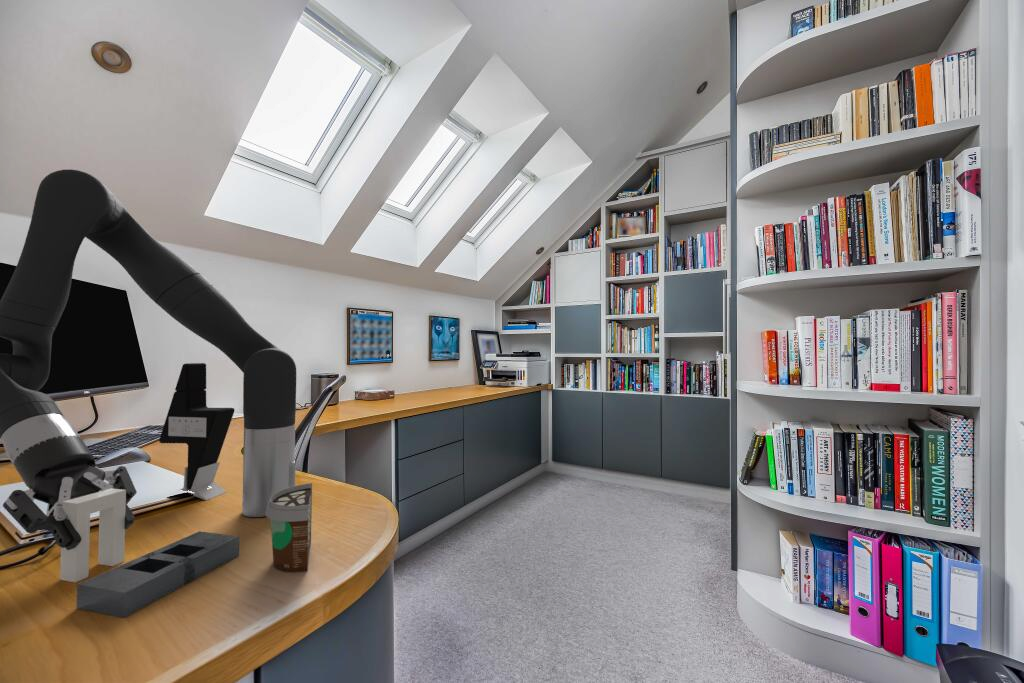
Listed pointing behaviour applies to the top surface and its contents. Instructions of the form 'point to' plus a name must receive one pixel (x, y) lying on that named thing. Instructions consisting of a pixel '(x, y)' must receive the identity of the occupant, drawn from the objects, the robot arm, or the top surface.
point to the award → (197, 430)
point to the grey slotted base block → (155, 574)
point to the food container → (291, 527)
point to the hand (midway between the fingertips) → (103, 535)
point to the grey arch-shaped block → (109, 532)
